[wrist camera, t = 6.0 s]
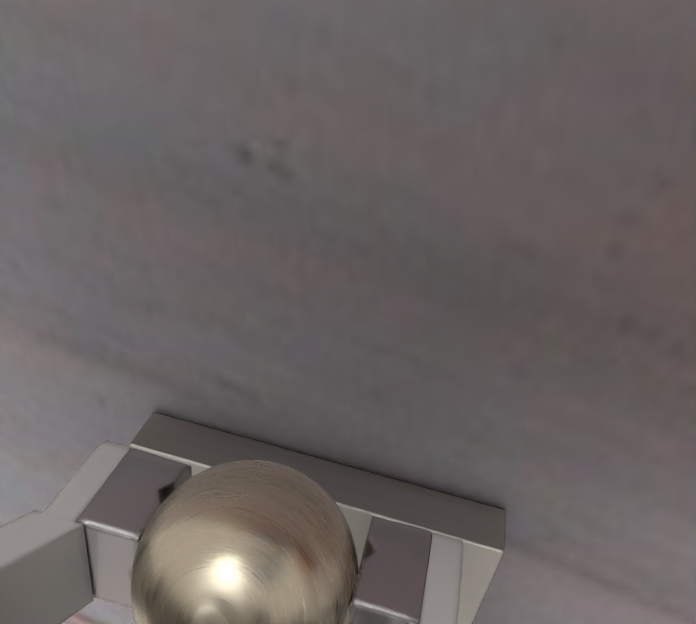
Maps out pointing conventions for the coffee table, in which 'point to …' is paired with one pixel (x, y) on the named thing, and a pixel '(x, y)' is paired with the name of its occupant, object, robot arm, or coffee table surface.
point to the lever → (245, 551)
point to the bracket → (351, 496)
